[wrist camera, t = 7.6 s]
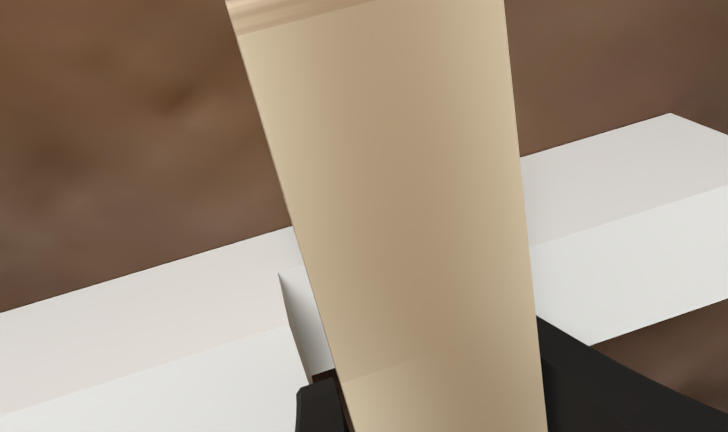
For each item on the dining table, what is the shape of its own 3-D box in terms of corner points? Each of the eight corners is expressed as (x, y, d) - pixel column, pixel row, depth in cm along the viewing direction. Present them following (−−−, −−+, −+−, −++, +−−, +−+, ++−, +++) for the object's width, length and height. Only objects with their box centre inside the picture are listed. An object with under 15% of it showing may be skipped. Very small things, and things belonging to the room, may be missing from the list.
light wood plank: (362, 457, 19) (439, 710, 13) (220, -13, 13) (236, 36, 6) (452, 425, 19) (571, 657, 13) (358, -48, 13) (500, -32, 7)
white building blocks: (39, 411, 16) (-8, 550, 12) (-18, 318, 14) (-90, 444, 11) (667, 210, 18) (782, 279, 14) (670, 113, 16) (797, 162, 13)
